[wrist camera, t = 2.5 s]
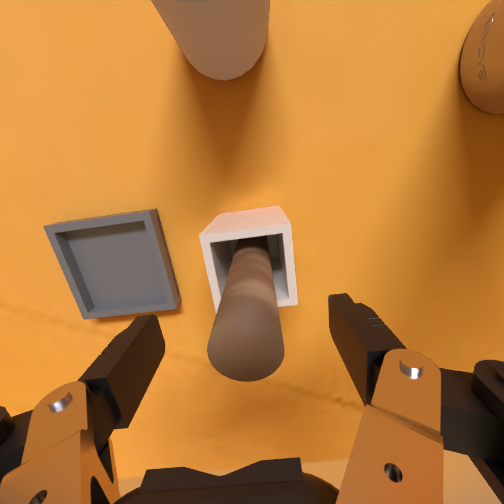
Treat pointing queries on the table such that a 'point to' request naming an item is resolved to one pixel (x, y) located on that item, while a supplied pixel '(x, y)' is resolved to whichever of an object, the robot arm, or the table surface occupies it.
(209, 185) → the table surface
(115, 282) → the tray
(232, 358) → the dowel
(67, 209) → the table surface
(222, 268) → the cup
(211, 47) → the can
